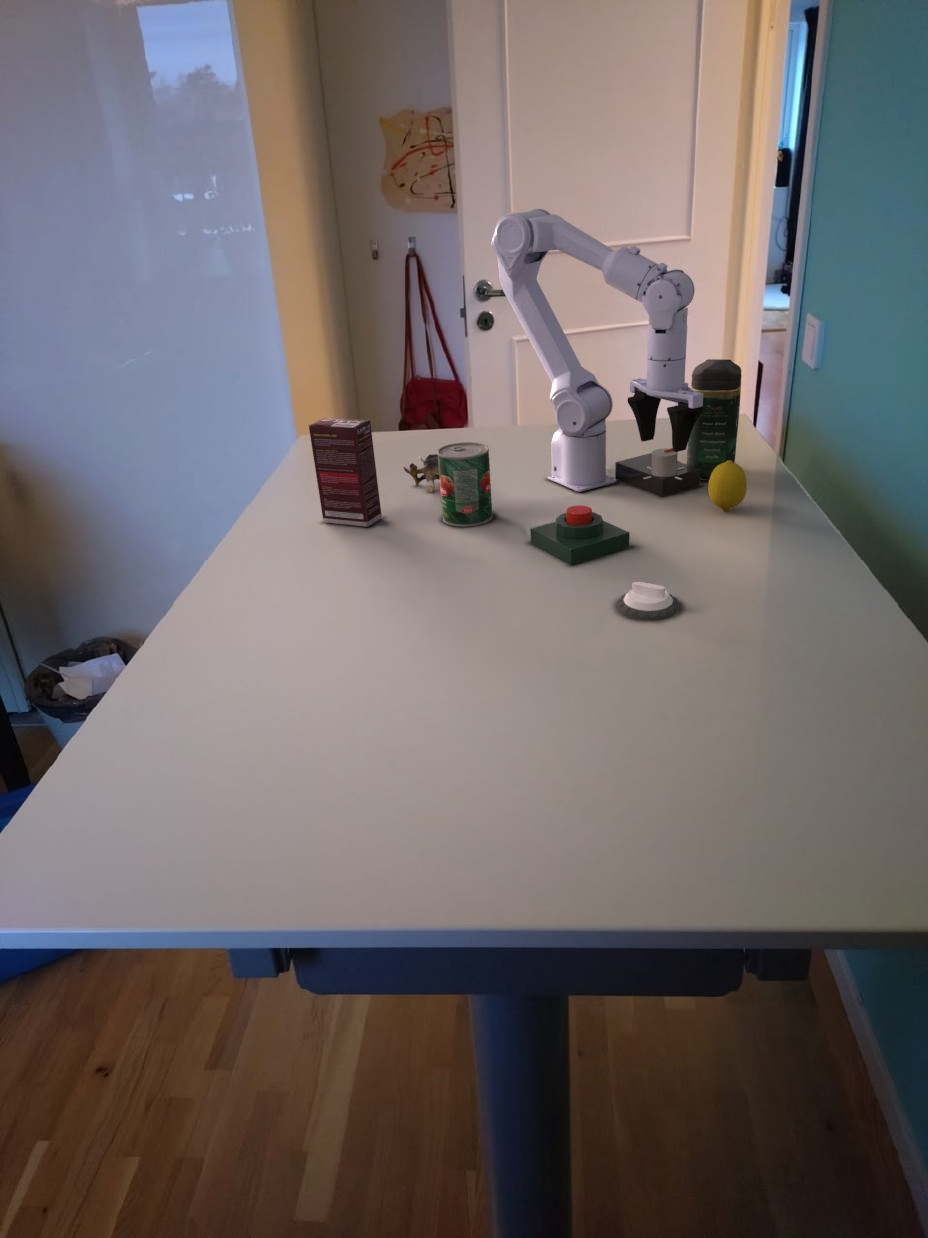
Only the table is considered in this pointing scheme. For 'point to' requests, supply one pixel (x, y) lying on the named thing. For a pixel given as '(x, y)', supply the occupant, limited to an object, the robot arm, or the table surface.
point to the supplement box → (346, 471)
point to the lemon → (727, 485)
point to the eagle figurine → (426, 471)
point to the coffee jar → (715, 415)
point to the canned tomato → (465, 484)
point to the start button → (578, 515)
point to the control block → (579, 539)
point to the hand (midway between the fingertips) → (663, 445)
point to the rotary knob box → (641, 476)
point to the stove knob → (648, 602)
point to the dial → (664, 462)
